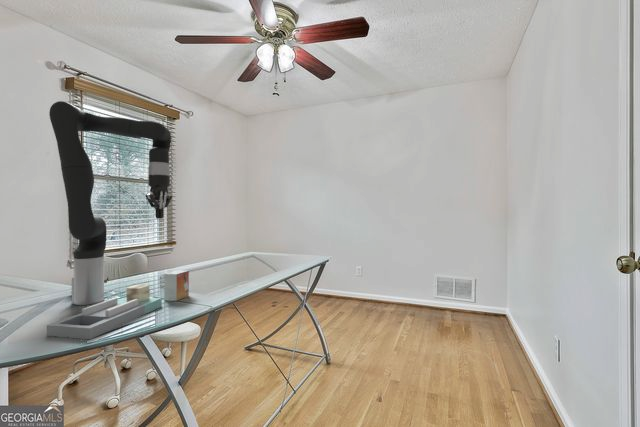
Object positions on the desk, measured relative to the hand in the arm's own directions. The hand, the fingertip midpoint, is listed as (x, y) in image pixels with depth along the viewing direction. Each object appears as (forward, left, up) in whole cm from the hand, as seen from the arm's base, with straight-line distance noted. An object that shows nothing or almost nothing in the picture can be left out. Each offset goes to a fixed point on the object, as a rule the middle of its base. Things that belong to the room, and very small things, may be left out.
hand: (159, 218), depth 121 cm
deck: (0, -23, -32) cm, 39 cm away
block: (+1, -12, -29) cm, 32 cm away
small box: (+6, +2, -32) cm, 33 cm away
